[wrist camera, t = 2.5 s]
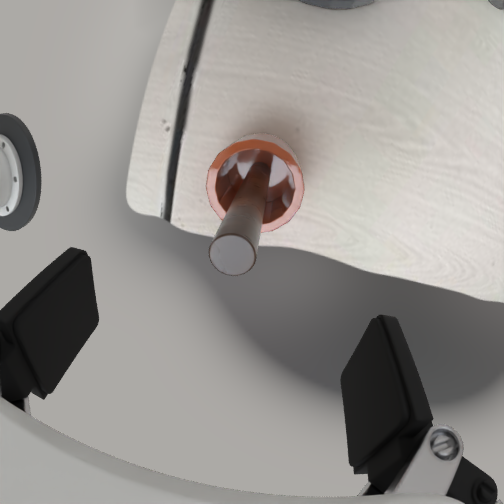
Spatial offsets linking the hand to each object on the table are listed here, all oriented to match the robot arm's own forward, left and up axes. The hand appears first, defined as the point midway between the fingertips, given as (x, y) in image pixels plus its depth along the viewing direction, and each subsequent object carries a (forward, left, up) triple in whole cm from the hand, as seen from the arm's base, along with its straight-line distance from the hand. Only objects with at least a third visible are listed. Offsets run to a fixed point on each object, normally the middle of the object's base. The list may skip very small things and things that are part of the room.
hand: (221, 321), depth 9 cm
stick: (0, 0, -23) cm, 23 cm away
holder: (0, 0, -24) cm, 24 cm away
